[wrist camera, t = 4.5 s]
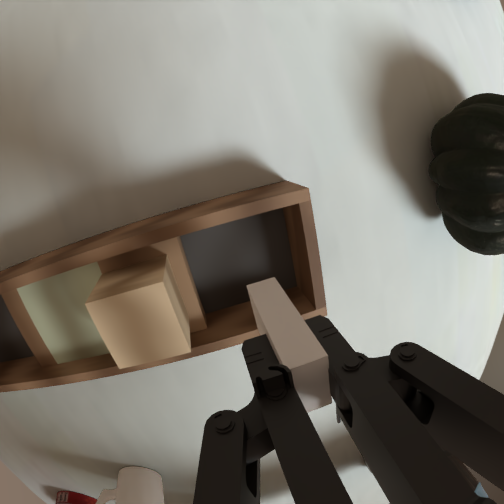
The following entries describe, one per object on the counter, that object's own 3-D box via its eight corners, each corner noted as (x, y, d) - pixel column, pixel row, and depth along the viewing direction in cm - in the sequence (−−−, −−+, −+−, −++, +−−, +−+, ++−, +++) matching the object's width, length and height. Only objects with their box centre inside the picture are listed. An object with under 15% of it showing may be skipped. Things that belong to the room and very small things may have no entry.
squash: (421, 266, 22) (574, 287, 13) (415, 74, 17) (583, 94, 8) (432, 226, 32) (538, 239, 23) (428, 102, 28) (540, 112, 19)
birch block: (166, 254, 20) (162, 281, 16) (188, 315, 22) (191, 352, 18) (101, 273, 20) (84, 303, 16) (128, 331, 21) (119, 369, 17)
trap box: (286, 180, 23) (308, 188, 19) (305, 289, 26) (327, 315, 22) (-44, 290, 19) (-67, 310, 15) (-1, 367, 22) (-16, 393, 18)
